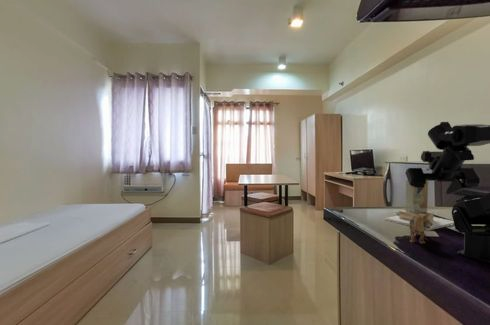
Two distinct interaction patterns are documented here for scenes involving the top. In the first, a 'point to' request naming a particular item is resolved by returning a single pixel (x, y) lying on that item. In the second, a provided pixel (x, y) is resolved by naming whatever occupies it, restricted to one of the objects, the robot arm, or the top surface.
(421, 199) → the skincare box
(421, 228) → the lion figurine
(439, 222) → the build plate
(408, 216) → the oak pedestal
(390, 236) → the top surface
